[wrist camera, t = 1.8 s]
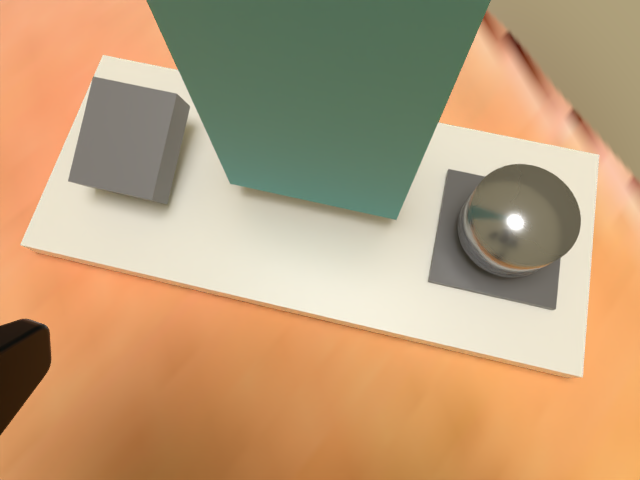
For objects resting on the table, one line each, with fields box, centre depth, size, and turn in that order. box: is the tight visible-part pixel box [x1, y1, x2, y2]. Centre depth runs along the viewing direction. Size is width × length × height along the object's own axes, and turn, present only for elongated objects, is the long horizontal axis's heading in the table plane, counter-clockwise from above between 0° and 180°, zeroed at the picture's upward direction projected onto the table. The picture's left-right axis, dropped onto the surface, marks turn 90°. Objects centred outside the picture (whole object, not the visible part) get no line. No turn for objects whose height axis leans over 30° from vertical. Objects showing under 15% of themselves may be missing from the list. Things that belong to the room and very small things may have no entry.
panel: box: [21, 55, 599, 378], centre depth 22 cm, size 10×24×2 cm, turn 77°
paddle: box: [147, 0, 491, 220], centre depth 15 cm, size 2×7×13 cm, turn 77°
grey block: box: [68, 77, 190, 205], centre depth 20 cm, size 4×4×2 cm
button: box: [457, 164, 581, 278], centre depth 19 cm, size 4×4×2 cm
